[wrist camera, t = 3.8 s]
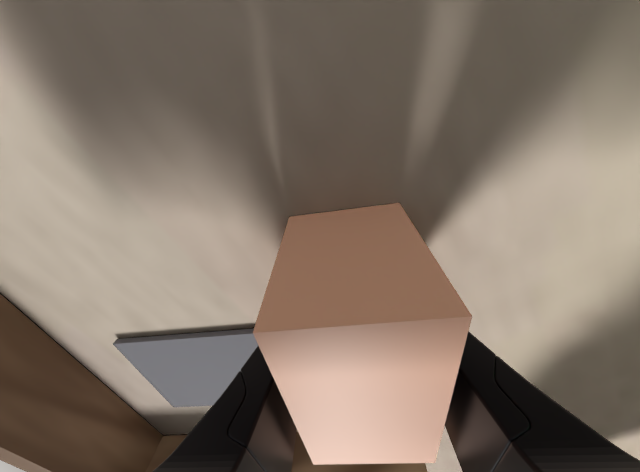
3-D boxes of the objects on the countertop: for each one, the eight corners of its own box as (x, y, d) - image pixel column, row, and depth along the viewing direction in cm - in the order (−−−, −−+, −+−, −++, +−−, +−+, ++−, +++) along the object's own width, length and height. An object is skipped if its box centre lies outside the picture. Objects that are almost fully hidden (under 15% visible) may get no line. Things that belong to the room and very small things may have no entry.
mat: (295, 325, 12) (295, 330, 12) (317, 395, 16) (317, 401, 15) (117, 339, 13) (112, 343, 13) (175, 402, 17) (173, 407, 16)
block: (399, 202, 8) (472, 316, 4) (397, 330, 12) (435, 462, 8) (289, 216, 9) (252, 332, 5) (318, 336, 12) (313, 464, 8)
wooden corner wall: (453, 118, 7) (572, 143, 4) (415, 436, 18) (434, 516, 15) (-132, 211, 9) (-402, 280, 6) (155, 443, 21) (120, 513, 17)
